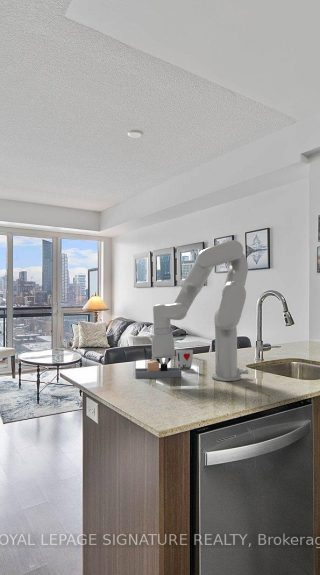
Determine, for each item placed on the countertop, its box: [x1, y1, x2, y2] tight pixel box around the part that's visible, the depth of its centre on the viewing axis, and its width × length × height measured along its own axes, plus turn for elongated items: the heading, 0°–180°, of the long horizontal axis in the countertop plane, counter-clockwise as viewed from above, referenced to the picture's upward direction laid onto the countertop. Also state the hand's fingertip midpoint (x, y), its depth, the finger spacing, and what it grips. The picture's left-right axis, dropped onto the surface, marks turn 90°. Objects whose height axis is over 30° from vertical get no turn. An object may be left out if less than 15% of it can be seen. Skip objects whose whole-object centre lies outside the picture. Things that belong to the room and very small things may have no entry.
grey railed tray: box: [134, 366, 182, 379], centre depth 168 cm, size 20×9×4 cm, turn 94°
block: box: [146, 360, 160, 372], centre depth 167 cm, size 5×5×6 cm
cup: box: [175, 349, 194, 371], centre depth 183 cm, size 8×8×10 cm
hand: (164, 372), depth 168 cm, fingers closed
